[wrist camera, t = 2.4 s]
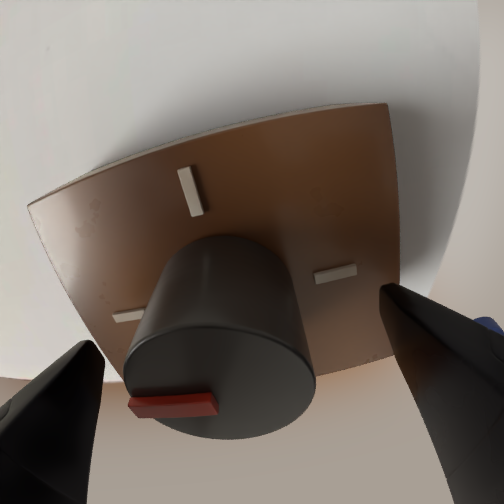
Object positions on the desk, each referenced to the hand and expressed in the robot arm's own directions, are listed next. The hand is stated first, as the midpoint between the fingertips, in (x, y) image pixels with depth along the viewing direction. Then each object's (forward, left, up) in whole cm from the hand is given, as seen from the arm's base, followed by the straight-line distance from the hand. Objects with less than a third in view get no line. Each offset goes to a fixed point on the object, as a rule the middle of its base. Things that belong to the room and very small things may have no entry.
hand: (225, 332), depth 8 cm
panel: (0, 0, -7) cm, 7 cm away
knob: (0, 0, -2) cm, 2 cm away
